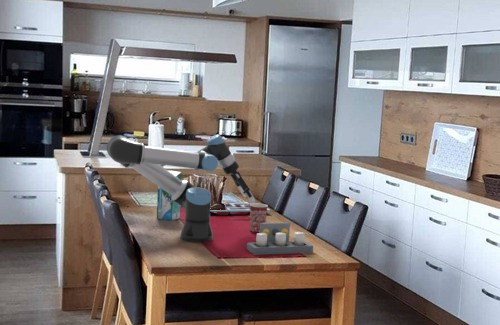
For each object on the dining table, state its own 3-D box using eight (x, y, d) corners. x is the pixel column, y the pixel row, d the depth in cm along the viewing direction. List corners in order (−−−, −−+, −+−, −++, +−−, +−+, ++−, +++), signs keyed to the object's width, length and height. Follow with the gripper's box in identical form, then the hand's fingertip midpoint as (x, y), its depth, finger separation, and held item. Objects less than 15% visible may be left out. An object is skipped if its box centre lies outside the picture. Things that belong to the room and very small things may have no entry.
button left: (258, 246, 290) (259, 235, 289) (254, 244, 294) (255, 233, 293) (268, 246, 291) (268, 235, 291) (264, 243, 295) (265, 232, 295)
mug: (268, 233, 332) (269, 207, 331) (250, 233, 330) (252, 206, 329) (261, 227, 345) (263, 202, 343) (244, 227, 342) (246, 201, 341)
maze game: (258, 208, 398) (259, 203, 397) (270, 215, 379) (270, 209, 379) (201, 208, 386) (201, 203, 386) (210, 216, 368) (210, 210, 368)
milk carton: (156, 218, 351) (158, 171, 348) (164, 215, 360) (166, 169, 357) (171, 220, 348) (173, 173, 345) (179, 218, 356) (181, 171, 353)
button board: (253, 257, 287) (254, 247, 287) (246, 251, 295) (247, 242, 295) (312, 254, 297) (313, 245, 296) (304, 249, 305) (304, 240, 305)
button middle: (277, 246, 293) (278, 235, 292) (273, 243, 297) (274, 232, 296) (287, 245, 294) (287, 234, 294) (283, 243, 299) (283, 232, 298)
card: (259, 249, 300) (261, 223, 298) (259, 249, 301) (260, 223, 299) (288, 248, 304) (290, 223, 303) (287, 248, 305) (289, 222, 304)
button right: (296, 245, 296) (296, 234, 295) (292, 242, 300) (292, 232, 300) (305, 245, 297) (306, 234, 297) (301, 242, 302) (302, 231, 301)
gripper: (241, 163, 315) (263, 200, 321) (229, 155, 339) (249, 190, 345) (228, 172, 314) (250, 209, 320) (216, 163, 338) (237, 197, 344)
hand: (249, 199), depth 333 cm, fingers open, 13 cm apart
